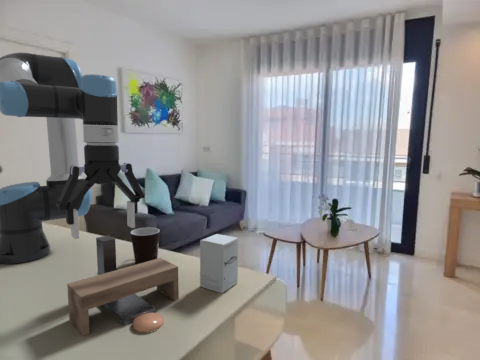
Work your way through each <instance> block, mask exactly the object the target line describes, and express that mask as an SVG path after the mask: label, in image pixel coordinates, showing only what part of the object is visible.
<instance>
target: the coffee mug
mask: <svg viewBox="0 0 480 360" xmlns="http://www.w3.org/2000/svg"><path fill="white" fill-rule="evenodd" d="M160 230H161V229H159V228H157V227H139V228H135V229H132V230H131V231H130V238H131V243H132V251H133V256H134V265H137V264H140V263H144V262H147V261H151V260H154V259H158V255H159V254H158V253H159V242H160V233H161V231H160Z"/></svg>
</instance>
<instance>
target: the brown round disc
mask: <svg viewBox="0 0 480 360" xmlns="http://www.w3.org/2000/svg"><path fill="white" fill-rule="evenodd" d="M132 325H133V327H134V328H133V330H134V329H135V330H134V331H135V332H137V331H138V333H141V332H149V333H152V332H151V331H153V332H155V331H154V330H156V329H158V330H159V328H160V327H161V326H162V325H164V316H163V315H162V314H160V313H157V312H155V313H146V314H142V315H140V316H138V317H137V318H135V320H134V321H133V322H132ZM162 327H163V326H162ZM162 327H161V328H162ZM161 328H160V329H161ZM156 331H157V330H156Z"/></svg>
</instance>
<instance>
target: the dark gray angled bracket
mask: <svg viewBox="0 0 480 360" xmlns="http://www.w3.org/2000/svg"><path fill="white" fill-rule="evenodd" d="M95 238H96V239H95V240H96V242H95V243H96V258H97V259H96V260H97V275H101V274H104V273H108V272H111V271H115V270H118V268H117V251H116V250H117V249H116V245H117V244H116V238H115V237H112V236H110V235H109V234H108V235H103V236H98V237H95ZM102 306H103V308H105V309H106V310H107V311H108V312H109V313H110V314H112V315H113V316H114V317H115V318H116V319H117V320H118V321H120V323H121V324H122V325H124V326H127V325H129V324H133V321H134V320H135V318H137V317H138V316H140V315H142V314H146V313H156V308H155V306H153V305H151V304H150V303H149V302H147V301H146V300H145V299H144V298H142V297H140V296H139V295H137V293H135V294H132V295H129V296H127V297H124V298H121V299H118V300H115V301H112V302H109V303H106V304H103V305H102Z"/></svg>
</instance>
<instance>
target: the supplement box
mask: <svg viewBox="0 0 480 360" xmlns="http://www.w3.org/2000/svg"><path fill="white" fill-rule="evenodd" d="M199 245H200V246H199V249H200V250H199V257H200V258H199V260H200V261H199V266H200V267H199V270H200V271H199V277H200V278H199V280H200V281H199V286H200V287H201V288H205V289H207V290H211V291H213V292H217V293H220V294H224V293H225V292H226V291H227V290H228V289H229V290H230V288H232V287H233V286H234V285H236V284H238V281H239V280H238V277H239V276H238V275H239V274H238V271H239V265H238V263H239V237H235V236H231V235H224V234H221V233H216V234H212V235H211V236H208V237H206V238H203V239H200V241H199Z"/></svg>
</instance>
